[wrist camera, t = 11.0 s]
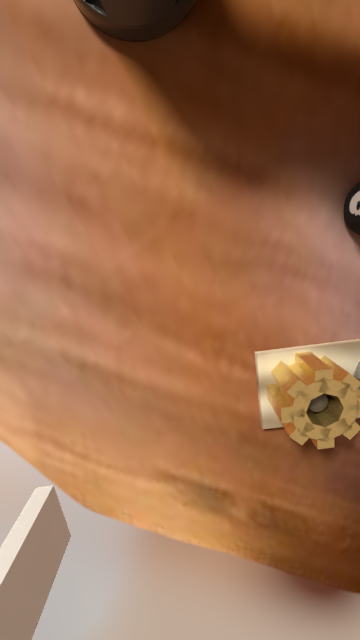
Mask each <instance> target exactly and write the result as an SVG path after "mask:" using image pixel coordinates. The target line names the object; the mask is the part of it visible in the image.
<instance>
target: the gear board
mask: <svg viewBox="0 0 360 640" xmlns="http://www.w3.org/2000/svg"><path fill="white" fill-rule="evenodd" d="M309 351H310V352H312V353H313V354H314V355H315V356H317V357H318V358H319V359H321V358H322V357H323V356H324V355H325V356H326V357H328V358H329V359H330V360H332V361H333V362H335V363H336V364H337V365H339V366H340V367H342V368H343V369H344V370H346V371H347V372H348V373H350V374H351V375H352V376H354V375H353V374H354V372H355V370H356V367H357V365H358V363H359V362H360V339H354V340H346V341H338V342H330V343H322V344H314V345H306V346H298V347H290V348H282V349H274V350H266V351H258V352H255V362H256V374H257V387H258V399H259V411H260V423H261V426H262V429H270V428H278V427H283V425H282V423H281V422H280V420H279V418H278V416H277V415H276V413H275V411H274V409H273V407H272V406H271V404H270V402H269V401H268V399H267V388H266V385H271V384H276V382H277V379H276V378H275V376H274V375H273V374H272V372H271V371H272V370H273V369H274V368H275V367H276V366H277V364H278V363H279V362H280V361H282V362H284V363H285V364H286V365H288V366H290V365H292V364H293V363H295V353H301V352H309ZM354 377H355V376H354ZM355 378H356V379H357V380H359V379H358V378H357V377H355ZM359 381H360V380H359ZM327 405H328V398H327V397H326V395H325V394H322V395H320V396H318V397H316V398H314V399H312V400H311V401H310V404H309V406H308V407H309V409H310V410H312V411H314V412H319V411H322V410H324V409H325V408H326V407H327ZM356 418H360V414H357V416H356Z"/></svg>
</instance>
